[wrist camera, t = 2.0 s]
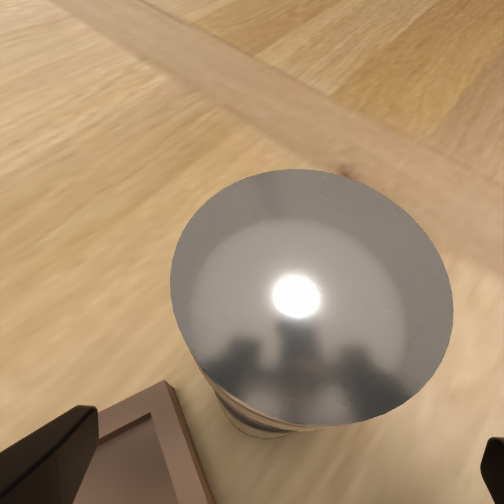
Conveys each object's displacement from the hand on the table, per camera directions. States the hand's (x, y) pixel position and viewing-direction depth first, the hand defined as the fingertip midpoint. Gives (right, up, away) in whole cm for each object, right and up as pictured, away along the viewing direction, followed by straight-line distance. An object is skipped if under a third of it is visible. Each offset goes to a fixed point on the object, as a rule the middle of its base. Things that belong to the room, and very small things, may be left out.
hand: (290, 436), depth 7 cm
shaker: (0, -3, +10) cm, 10 cm away
